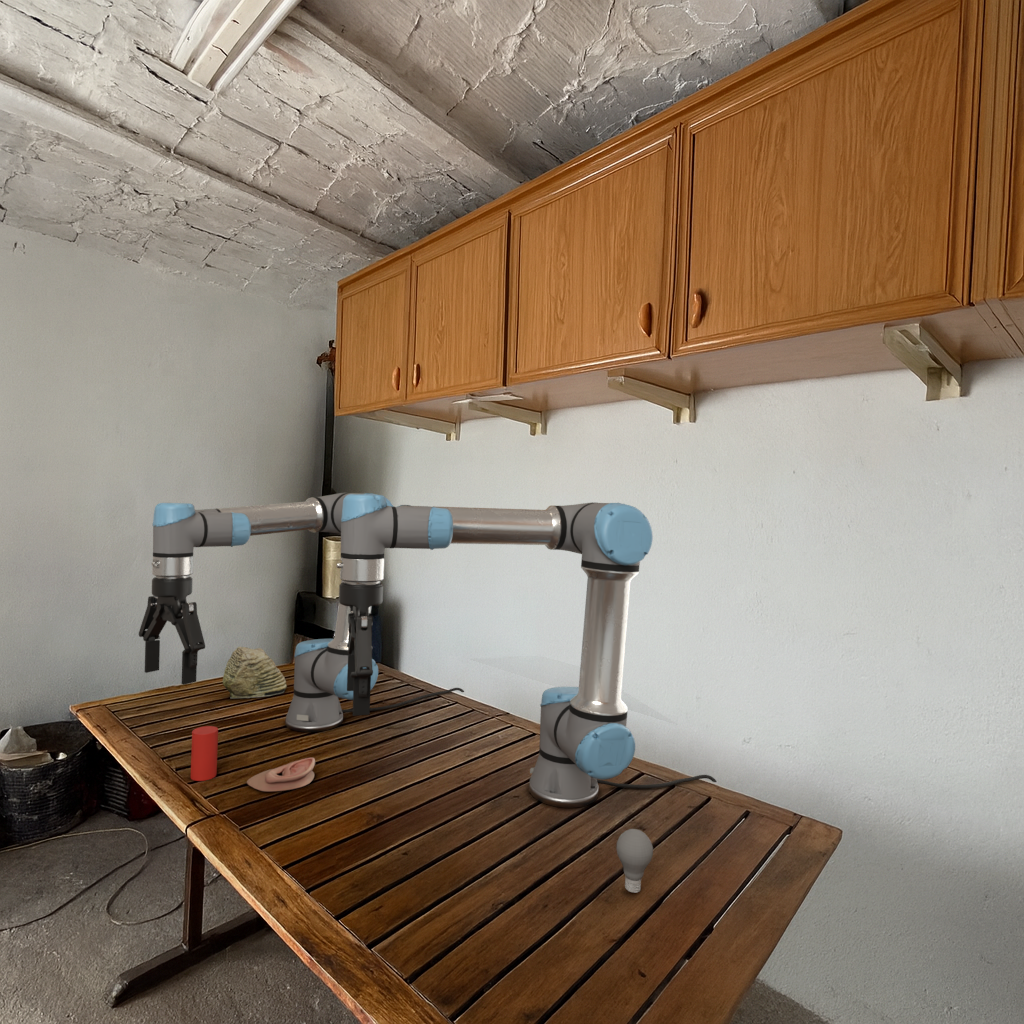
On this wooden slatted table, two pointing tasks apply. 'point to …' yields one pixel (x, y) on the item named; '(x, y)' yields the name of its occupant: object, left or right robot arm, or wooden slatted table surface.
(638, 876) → the light bulb
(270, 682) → the fossil
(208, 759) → the cylinder
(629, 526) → the right robot arm
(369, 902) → the wooden slatted table surface
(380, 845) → the wooden slatted table surface
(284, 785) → the anatomical model
